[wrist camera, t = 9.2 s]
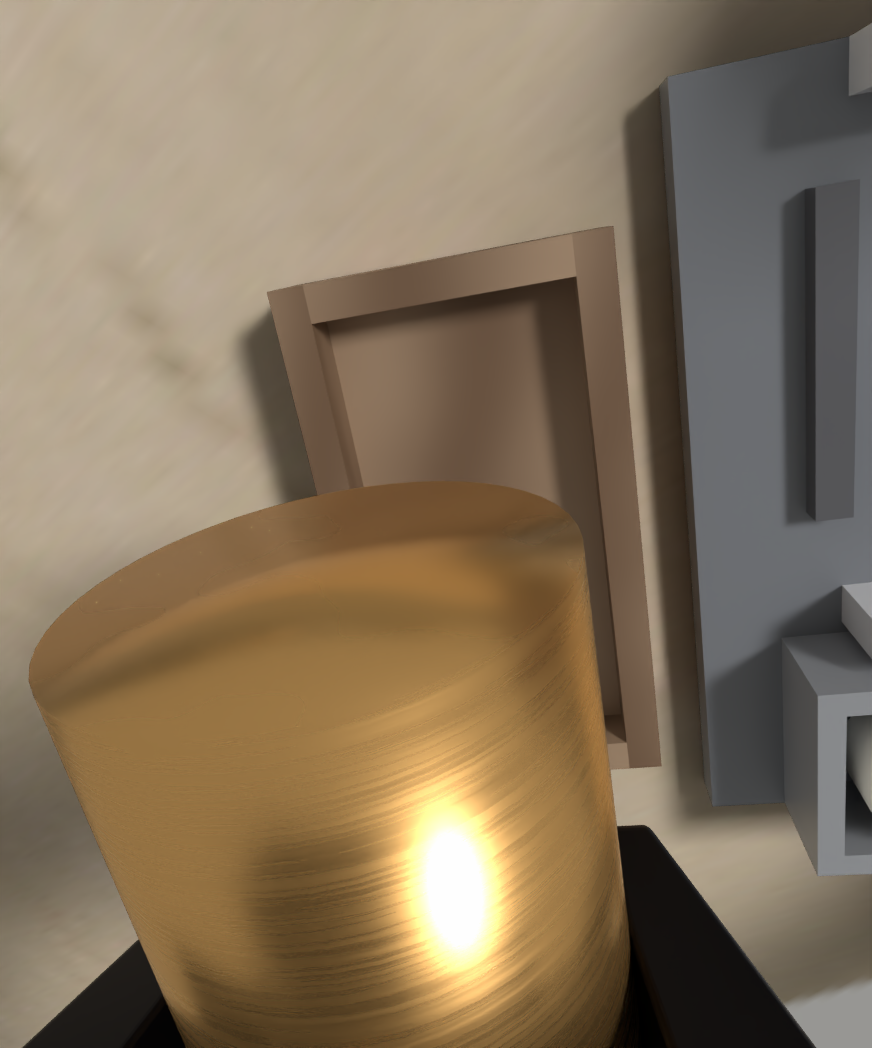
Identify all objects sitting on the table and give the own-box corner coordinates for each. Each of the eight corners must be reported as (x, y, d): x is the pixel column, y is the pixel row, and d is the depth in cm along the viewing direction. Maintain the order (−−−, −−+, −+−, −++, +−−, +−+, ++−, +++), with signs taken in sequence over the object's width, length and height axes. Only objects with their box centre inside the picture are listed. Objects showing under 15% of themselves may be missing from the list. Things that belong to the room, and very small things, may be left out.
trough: (602, 227, 16) (613, 226, 14) (648, 714, 21) (661, 766, 19) (297, 285, 18) (266, 292, 16) (401, 733, 22) (389, 784, 20)
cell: (566, 458, 7) (617, 707, 3) (645, 1106, 10) (714, 1589, 7) (184, 511, 8) (-125, 768, 4) (372, 1105, 11) (295, 1545, 7)
